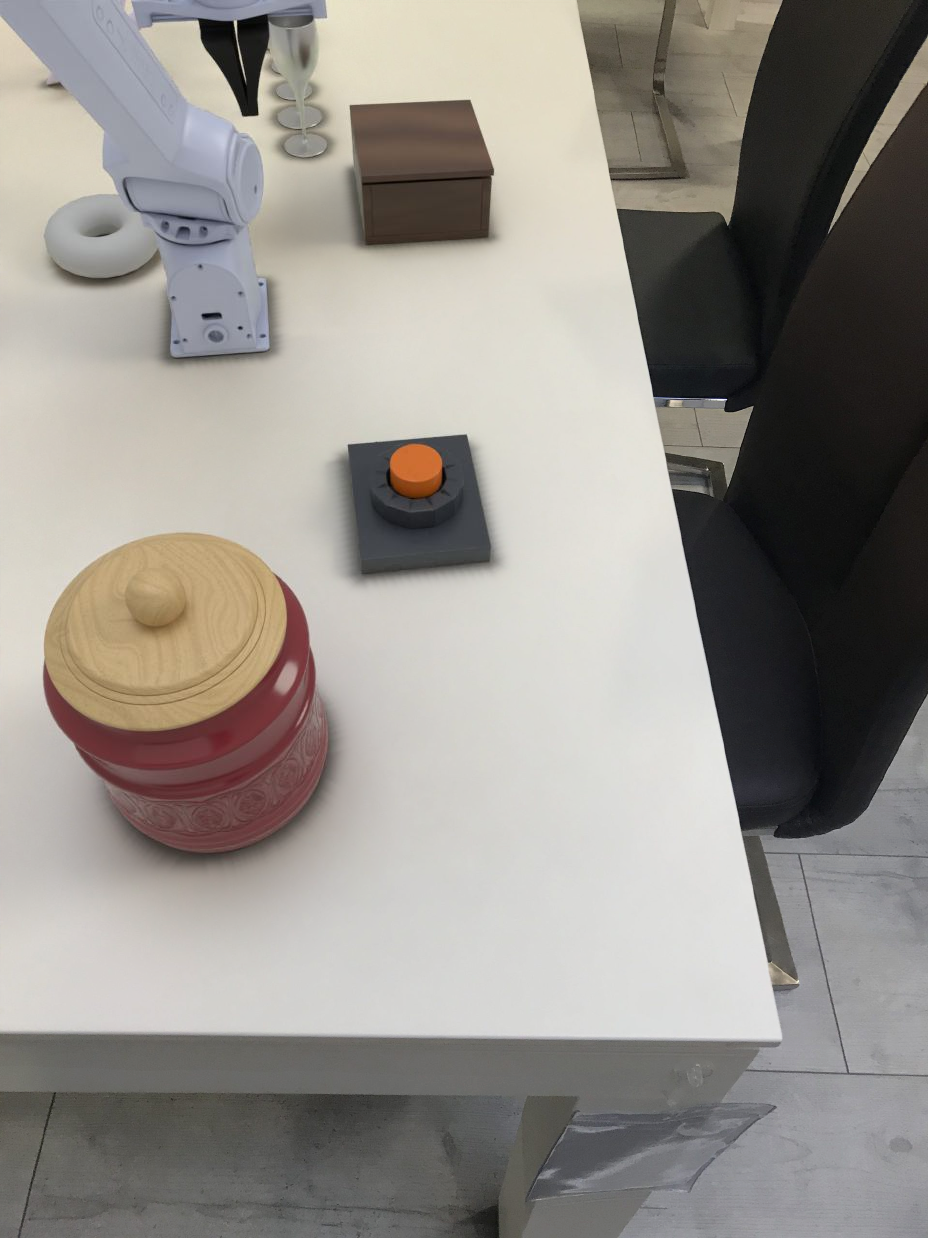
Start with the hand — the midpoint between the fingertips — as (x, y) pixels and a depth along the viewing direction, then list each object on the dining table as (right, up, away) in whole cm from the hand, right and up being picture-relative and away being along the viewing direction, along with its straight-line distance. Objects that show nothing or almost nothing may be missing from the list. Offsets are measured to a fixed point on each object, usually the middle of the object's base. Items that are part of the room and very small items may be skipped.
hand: (250, 109), depth 78 cm
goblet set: (-1, +15, +23) cm, 27 cm away
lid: (+14, 0, +6) cm, 15 cm away
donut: (-14, -10, +5) cm, 18 cm away
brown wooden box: (+14, -3, +11) cm, 18 cm away
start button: (+15, -33, -13) cm, 39 cm away
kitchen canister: (+4, -52, -22) cm, 56 cm away
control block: (+15, -35, -11) cm, 40 cm away
